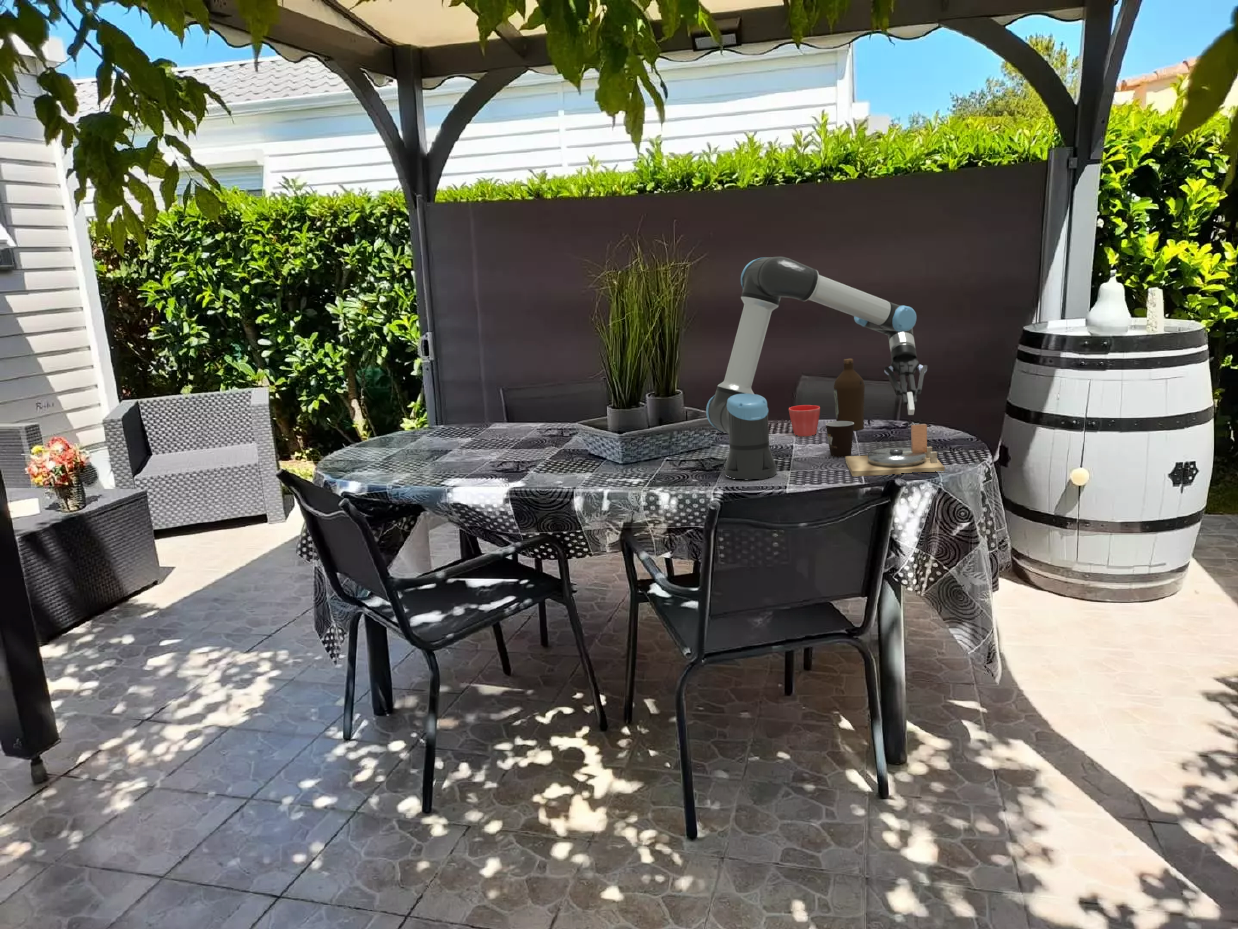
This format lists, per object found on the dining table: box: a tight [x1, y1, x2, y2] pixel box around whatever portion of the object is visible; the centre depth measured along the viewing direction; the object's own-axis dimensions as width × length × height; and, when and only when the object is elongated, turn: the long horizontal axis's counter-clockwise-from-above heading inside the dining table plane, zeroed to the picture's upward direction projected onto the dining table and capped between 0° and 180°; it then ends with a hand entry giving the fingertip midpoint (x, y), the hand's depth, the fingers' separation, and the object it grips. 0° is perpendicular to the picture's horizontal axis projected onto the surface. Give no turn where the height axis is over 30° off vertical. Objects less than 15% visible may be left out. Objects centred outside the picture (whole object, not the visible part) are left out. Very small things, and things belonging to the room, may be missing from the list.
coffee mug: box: [825, 420, 855, 458], centre depth 275 cm, size 12×9×10 cm
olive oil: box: [833, 358, 866, 432], centre depth 310 cm, size 11×11×25 cm
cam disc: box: [867, 423, 928, 467], centre depth 253 cm, size 16×16×10 cm
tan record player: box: [844, 446, 946, 477], centre depth 254 cm, size 25×19×4 cm
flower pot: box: [788, 404, 821, 437], centre depth 309 cm, size 11×11×10 cm
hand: (911, 412), depth 261 cm, fingers closed
